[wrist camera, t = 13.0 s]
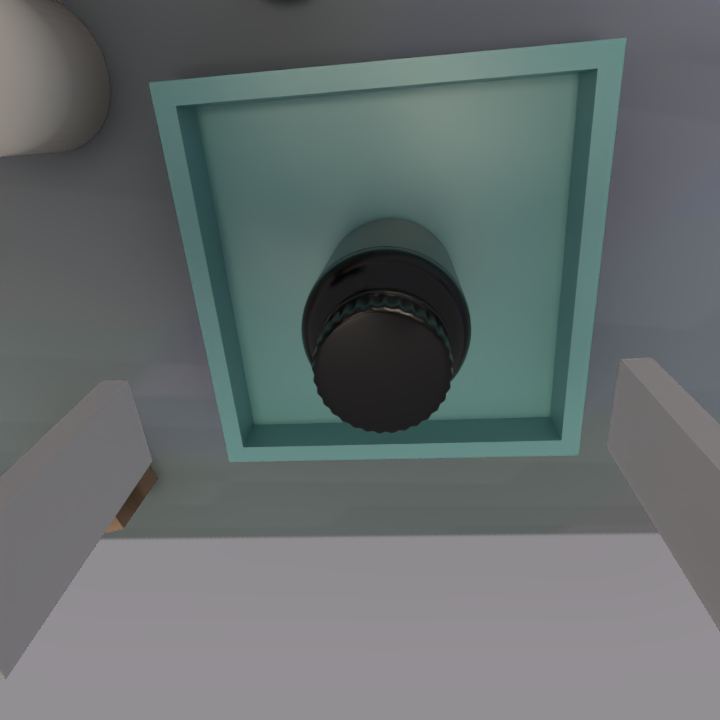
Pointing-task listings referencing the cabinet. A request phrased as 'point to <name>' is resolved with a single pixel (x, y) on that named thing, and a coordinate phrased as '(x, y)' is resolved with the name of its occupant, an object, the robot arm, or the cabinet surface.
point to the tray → (409, 202)
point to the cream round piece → (48, 79)
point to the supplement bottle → (386, 326)
